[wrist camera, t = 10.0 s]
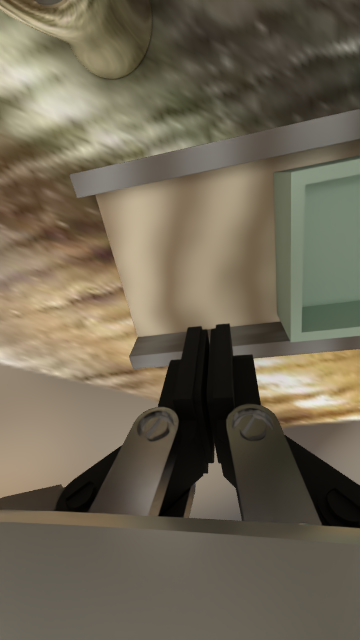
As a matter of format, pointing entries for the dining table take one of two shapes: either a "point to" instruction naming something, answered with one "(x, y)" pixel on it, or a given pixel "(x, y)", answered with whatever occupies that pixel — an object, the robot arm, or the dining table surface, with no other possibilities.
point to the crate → (318, 249)
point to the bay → (210, 236)
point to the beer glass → (92, 29)
